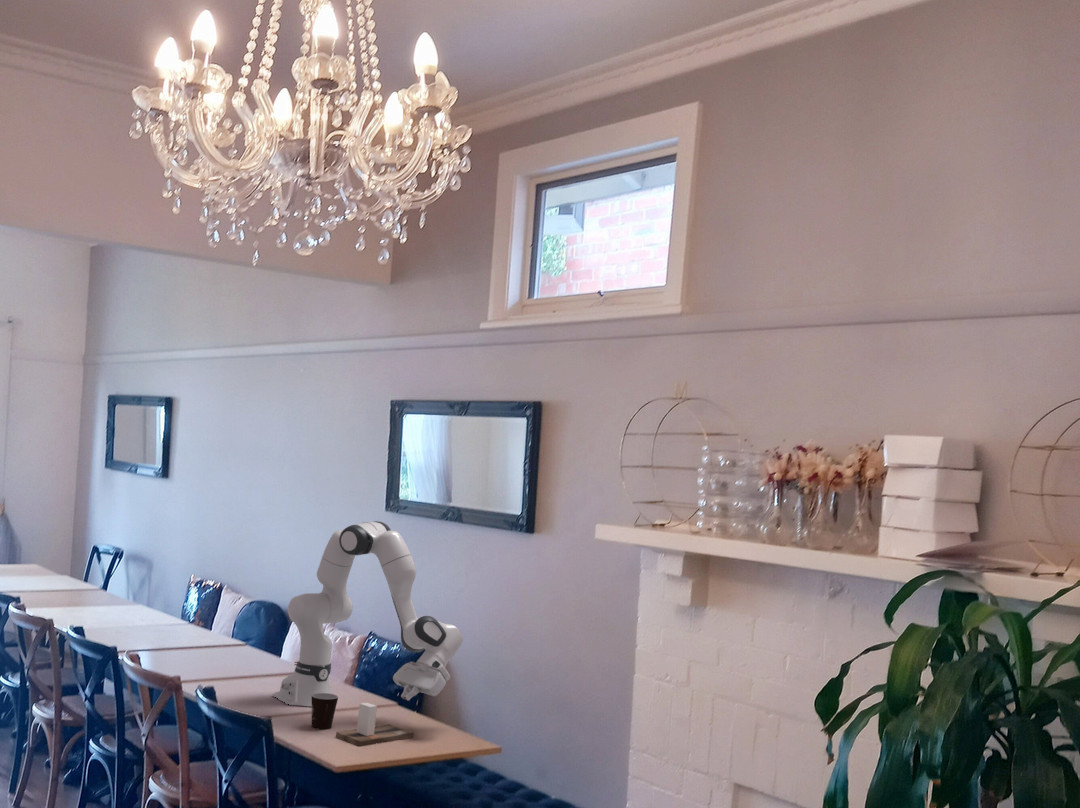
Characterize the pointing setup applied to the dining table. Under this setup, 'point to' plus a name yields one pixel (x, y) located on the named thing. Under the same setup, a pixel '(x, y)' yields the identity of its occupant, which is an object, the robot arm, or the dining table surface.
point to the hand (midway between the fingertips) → (404, 698)
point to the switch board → (375, 735)
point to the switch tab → (366, 719)
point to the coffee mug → (323, 710)
